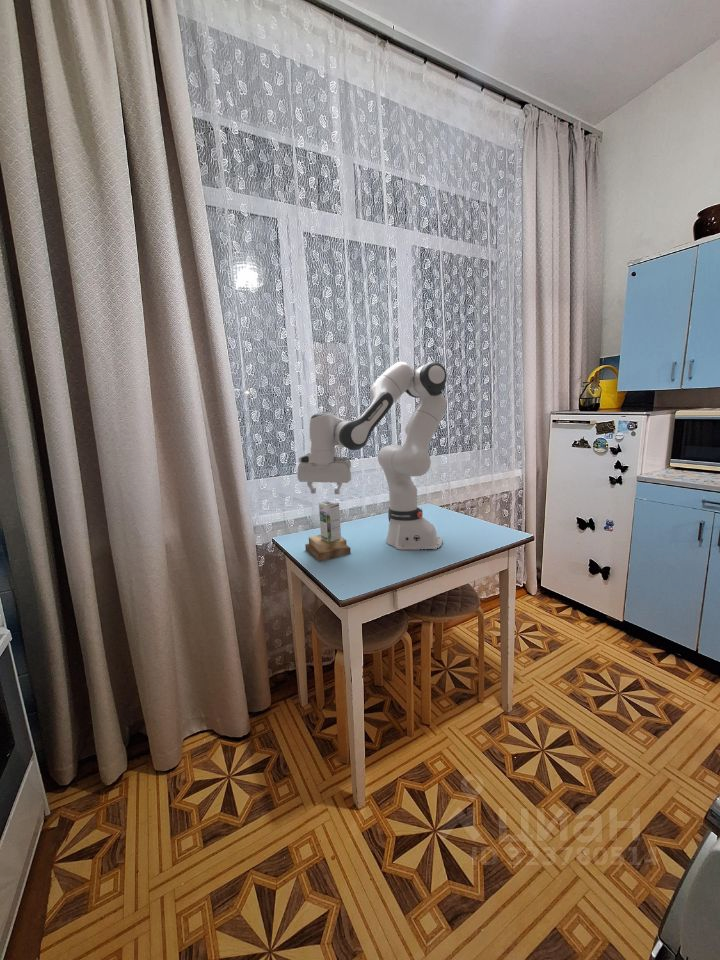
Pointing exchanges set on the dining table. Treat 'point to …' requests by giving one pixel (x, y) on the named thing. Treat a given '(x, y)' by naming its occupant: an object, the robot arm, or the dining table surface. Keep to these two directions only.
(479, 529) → the dining table surface
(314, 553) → the walnut base slab
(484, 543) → the dining table surface
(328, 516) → the syrup box
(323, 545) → the oak top slab
